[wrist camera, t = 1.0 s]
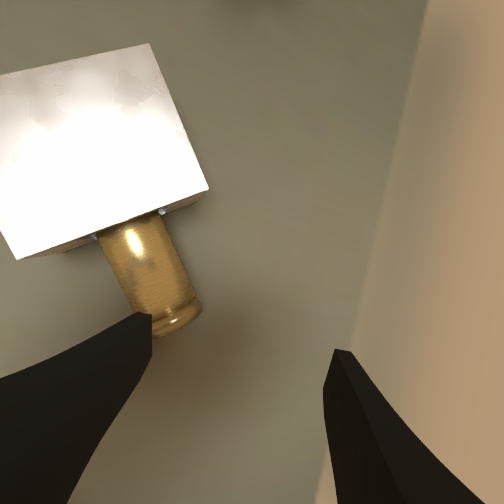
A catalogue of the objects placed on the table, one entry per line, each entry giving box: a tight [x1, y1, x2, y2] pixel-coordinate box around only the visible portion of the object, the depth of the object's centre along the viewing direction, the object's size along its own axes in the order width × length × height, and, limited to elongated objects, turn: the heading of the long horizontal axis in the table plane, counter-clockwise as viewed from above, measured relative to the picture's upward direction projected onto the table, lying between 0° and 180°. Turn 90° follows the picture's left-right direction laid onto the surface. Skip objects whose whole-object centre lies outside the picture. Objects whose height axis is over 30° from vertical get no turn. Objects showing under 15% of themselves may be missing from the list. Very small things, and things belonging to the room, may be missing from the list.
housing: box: [0, 43, 209, 260], centre depth 17 cm, size 10×8×6 cm
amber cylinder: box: [95, 210, 202, 339], centre depth 18 cm, size 4×11×4 cm, turn 22°
